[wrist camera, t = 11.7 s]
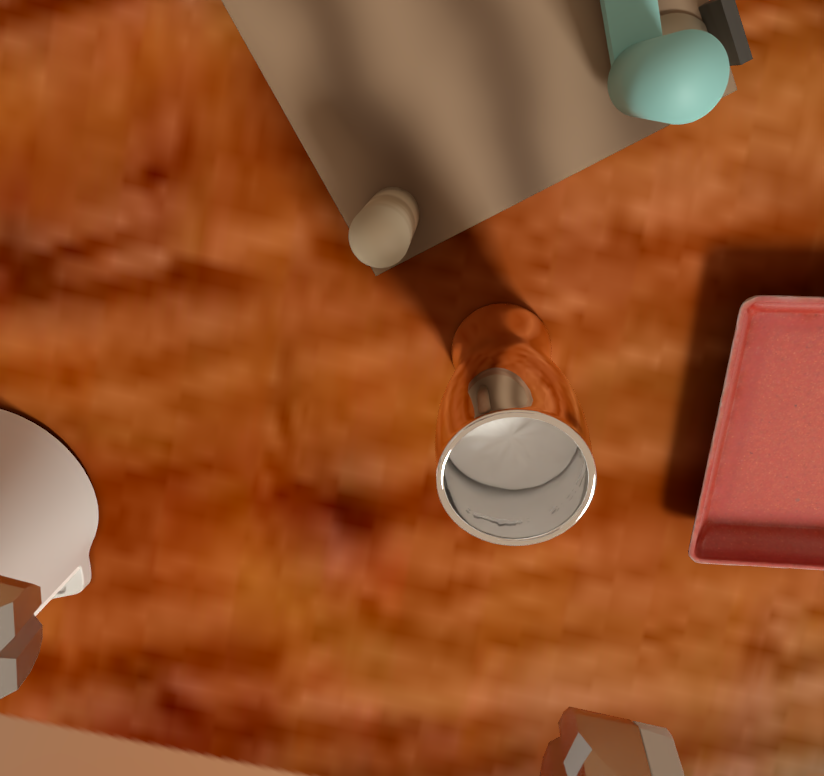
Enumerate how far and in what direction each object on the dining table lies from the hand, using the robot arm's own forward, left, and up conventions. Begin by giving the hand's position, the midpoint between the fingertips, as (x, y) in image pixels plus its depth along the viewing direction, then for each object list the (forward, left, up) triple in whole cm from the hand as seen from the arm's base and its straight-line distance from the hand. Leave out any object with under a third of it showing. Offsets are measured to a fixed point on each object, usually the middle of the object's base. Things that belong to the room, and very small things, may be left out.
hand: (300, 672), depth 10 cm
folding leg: (+14, +7, -28) cm, 32 cm away
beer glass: (+1, -8, -31) cm, 32 cm away
